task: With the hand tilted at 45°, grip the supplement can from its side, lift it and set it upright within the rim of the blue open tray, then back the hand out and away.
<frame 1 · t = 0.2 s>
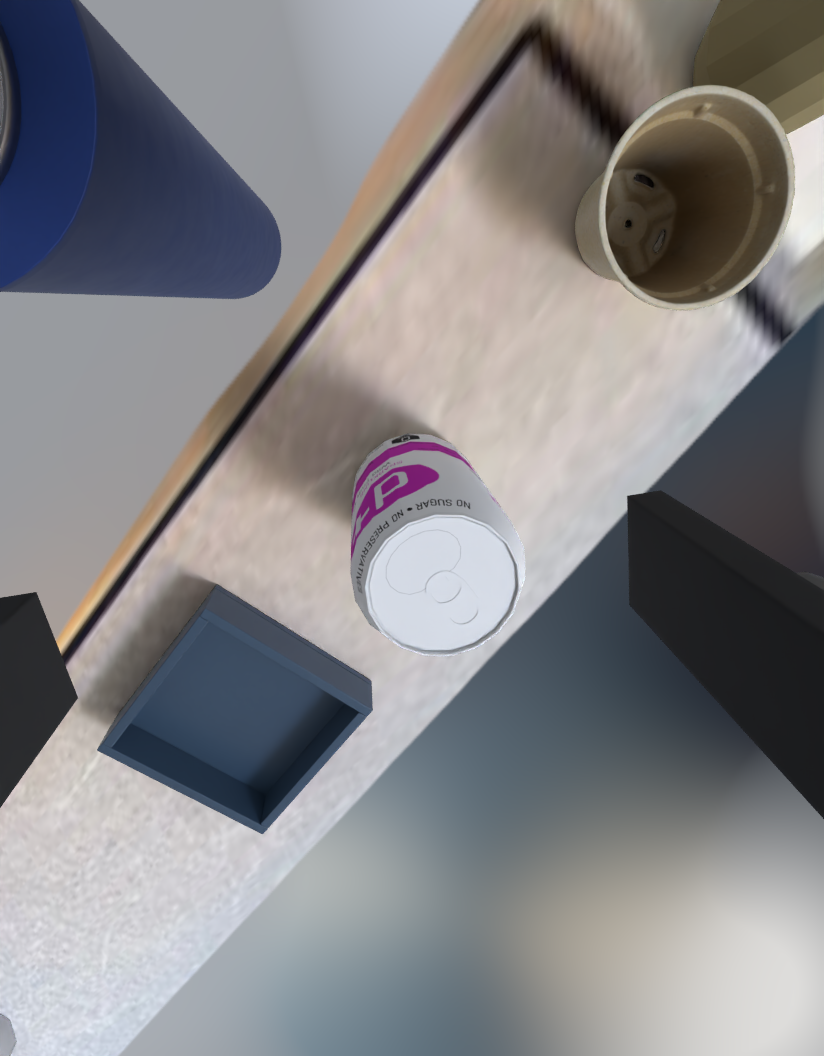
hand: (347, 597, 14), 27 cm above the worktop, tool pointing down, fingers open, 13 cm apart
flower pot: (621, 225, 37), on the worktop
squeeze bottle: (739, 71, 35), on the worktop
blue open tray: (244, 698, 46), on the worktop
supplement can: (413, 490, 42), on the worktop
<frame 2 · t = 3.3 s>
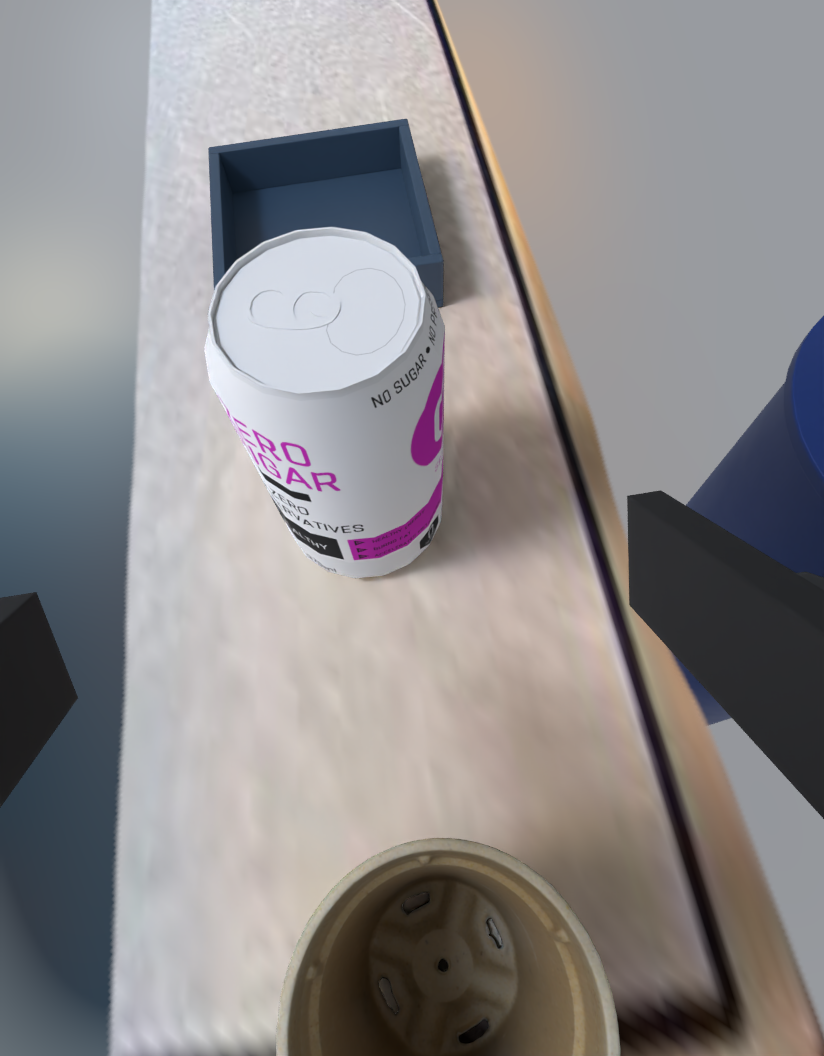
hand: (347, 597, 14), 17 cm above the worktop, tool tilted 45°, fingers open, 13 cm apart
flower pot: (444, 958, 25), on the worktop
blue open tray: (327, 248, 42), on the worktop
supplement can: (366, 512, 34), on the worktop
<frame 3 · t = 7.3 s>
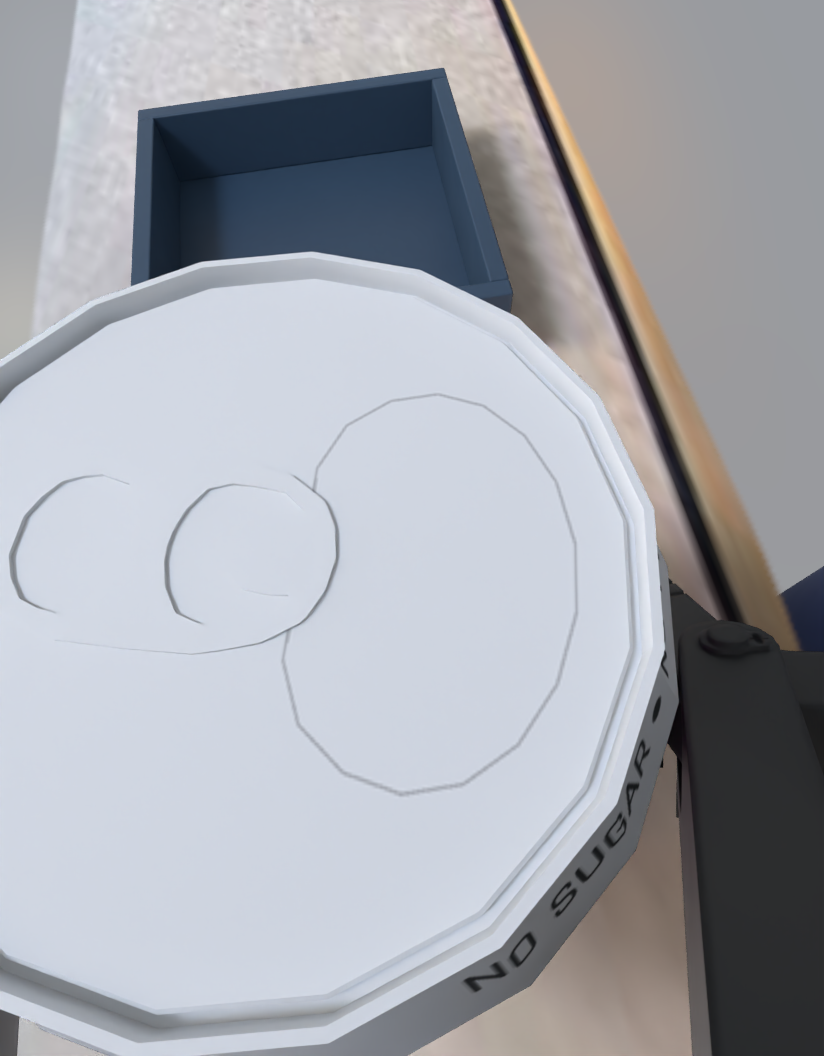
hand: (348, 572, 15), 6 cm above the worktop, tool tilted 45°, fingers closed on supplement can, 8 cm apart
blue open tray: (321, 265, 27), on the worktop
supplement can: (385, 738, 19), on the worktop, touching gripper
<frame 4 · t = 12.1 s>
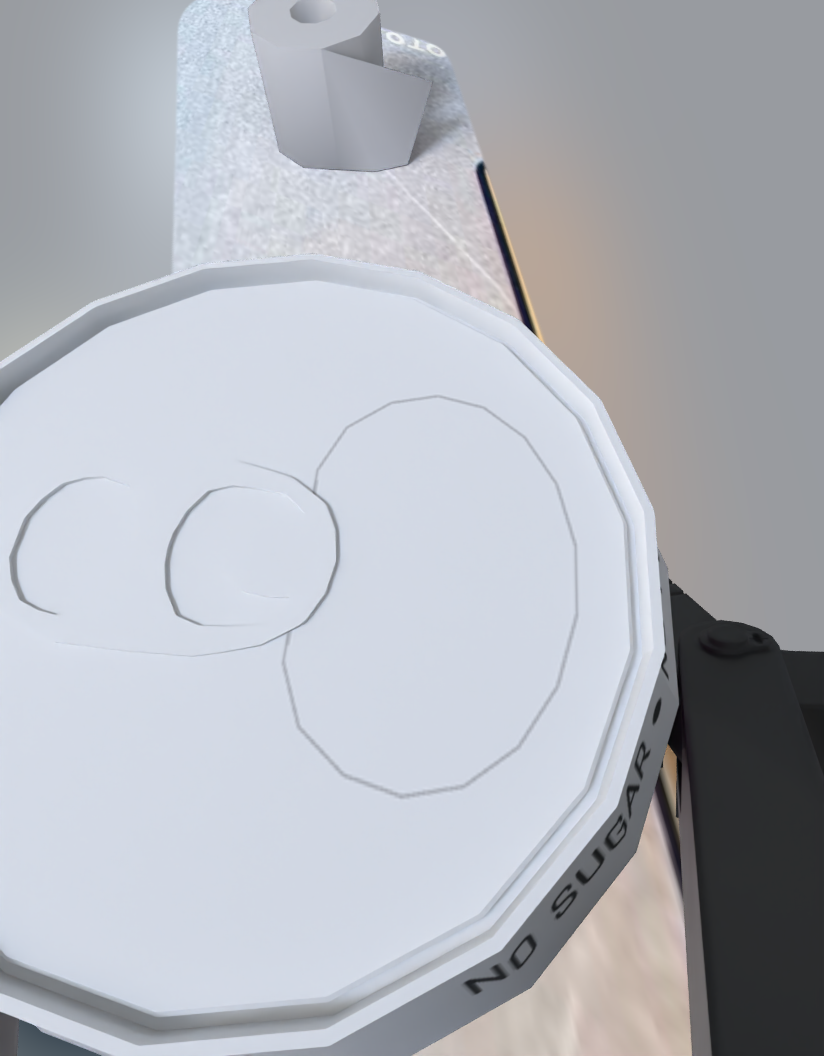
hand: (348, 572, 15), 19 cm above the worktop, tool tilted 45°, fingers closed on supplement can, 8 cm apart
toilet tissue: (345, 139, 51), on the worktop
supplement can: (385, 739, 19), point 13 cm above the worktop, touching gripper
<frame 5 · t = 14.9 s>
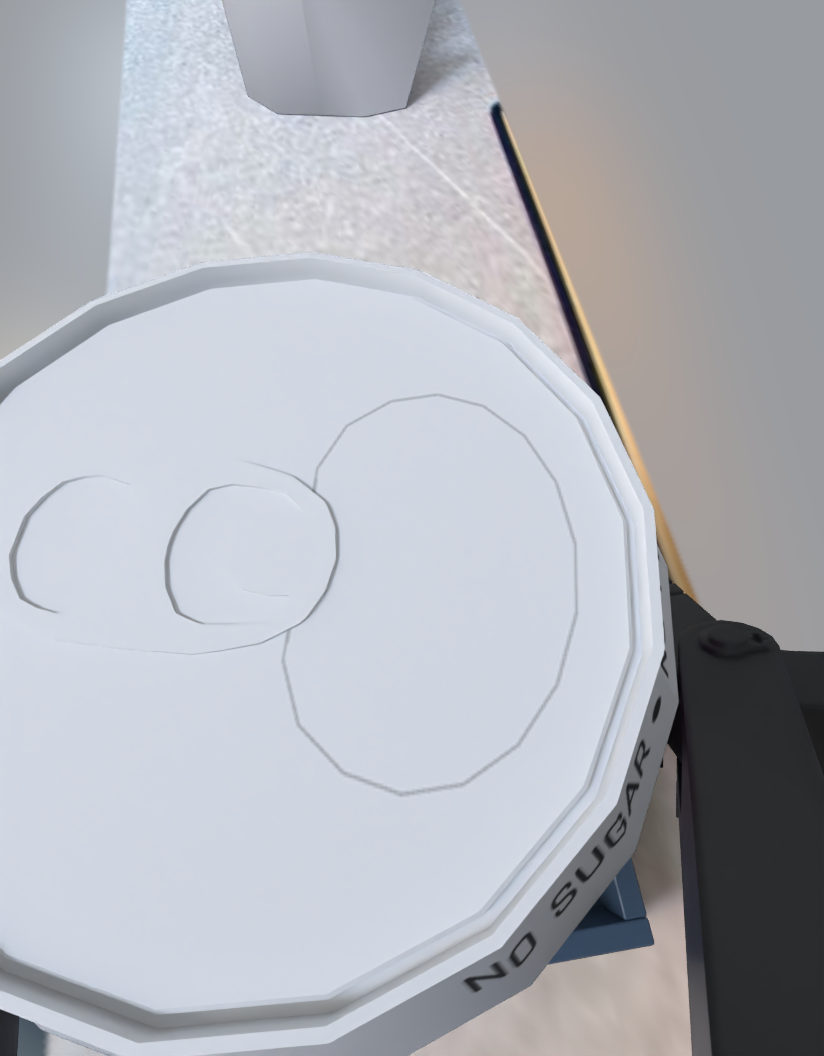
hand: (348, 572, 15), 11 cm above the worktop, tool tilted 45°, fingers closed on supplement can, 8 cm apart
toilet tissue: (329, 81, 42), on the worktop
blue open tray: (398, 751, 24), on the worktop
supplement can: (385, 738, 19), point 5 cm above the worktop, touching gripper
when the fingers open (6 cm above the worktop, at t = 16.7 s): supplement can stays where it is, resting on blue open tray.
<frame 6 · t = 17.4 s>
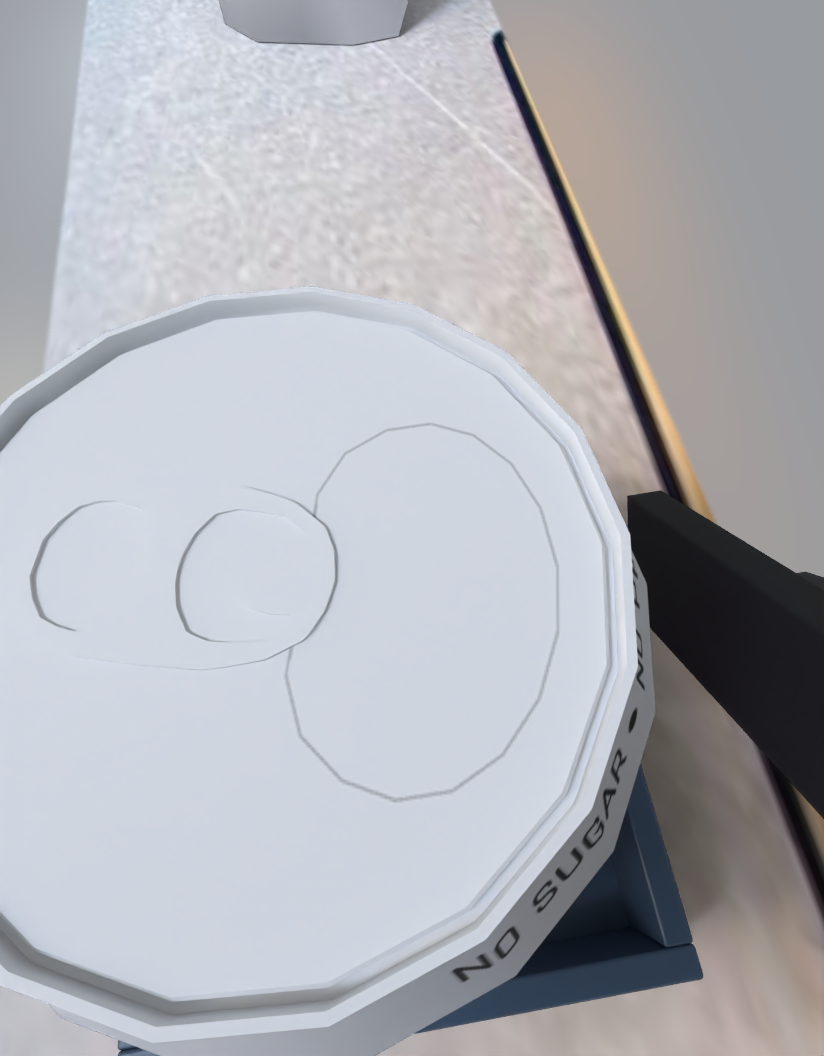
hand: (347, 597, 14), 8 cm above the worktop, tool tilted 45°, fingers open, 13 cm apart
toilet tissue: (315, 9, 38), on the worktop
blue open tray: (385, 740, 20), on the worktop
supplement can: (382, 740, 20), resting on blue open tray
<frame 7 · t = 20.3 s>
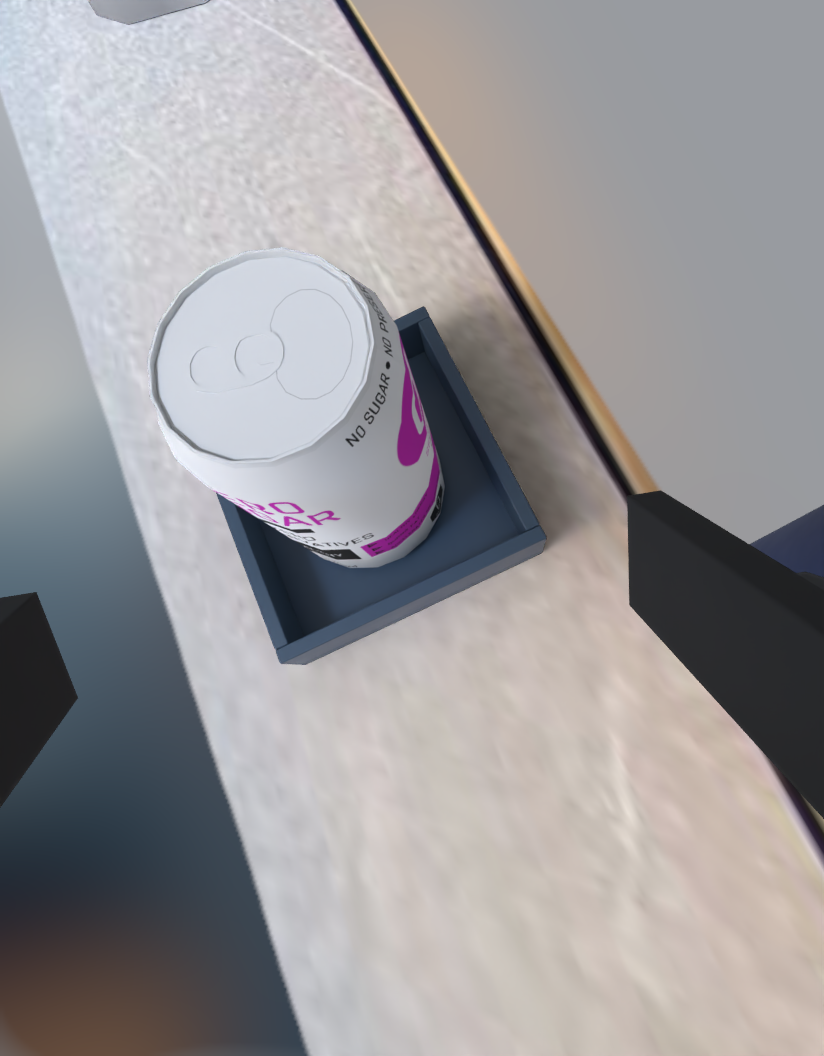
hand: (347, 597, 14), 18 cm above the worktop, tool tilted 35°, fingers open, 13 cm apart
blue open tray: (371, 496, 33), on the worktop
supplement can: (369, 494, 33), resting on blue open tray
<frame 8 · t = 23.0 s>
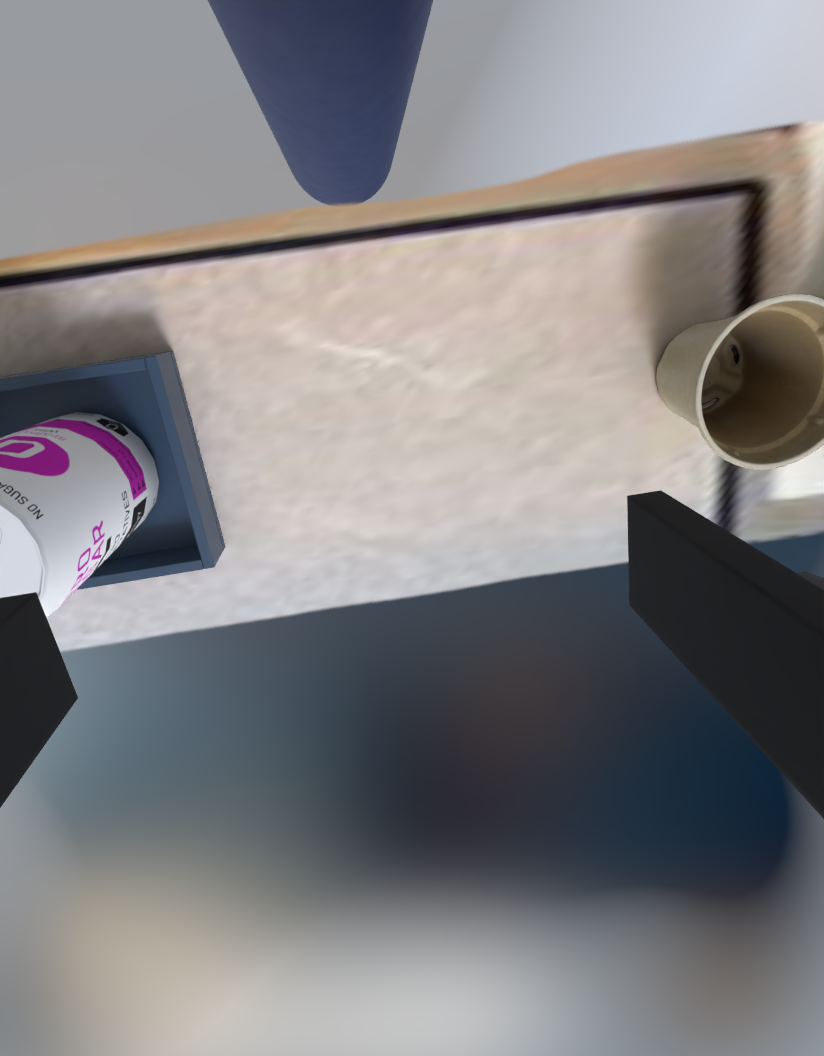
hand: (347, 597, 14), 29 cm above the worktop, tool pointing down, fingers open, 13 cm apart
flower pot: (696, 369, 42), on the worktop
blue open tray: (99, 470, 41), on the worktop
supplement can: (97, 472, 40), resting on blue open tray
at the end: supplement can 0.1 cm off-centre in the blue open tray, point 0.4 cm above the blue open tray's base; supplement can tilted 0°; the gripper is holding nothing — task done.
